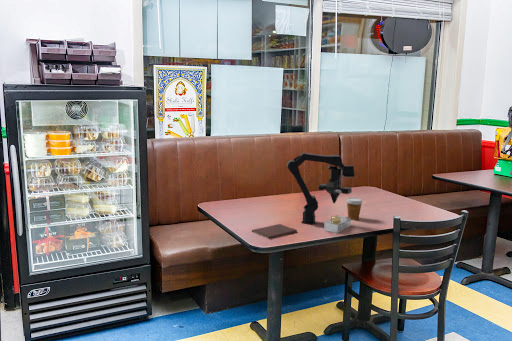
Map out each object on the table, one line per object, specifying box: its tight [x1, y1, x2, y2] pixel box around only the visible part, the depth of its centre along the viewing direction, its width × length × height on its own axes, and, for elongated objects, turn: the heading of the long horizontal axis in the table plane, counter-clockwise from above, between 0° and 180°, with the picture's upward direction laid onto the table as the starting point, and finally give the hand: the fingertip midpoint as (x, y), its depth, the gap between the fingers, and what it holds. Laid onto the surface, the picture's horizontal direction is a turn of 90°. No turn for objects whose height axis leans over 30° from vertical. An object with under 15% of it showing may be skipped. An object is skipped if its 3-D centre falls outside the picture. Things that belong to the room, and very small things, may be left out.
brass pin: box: [330, 215, 341, 223], centre depth 269 cm, size 5×5×6 cm
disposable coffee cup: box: [345, 197, 363, 221], centre depth 290 cm, size 10×10×12 cm
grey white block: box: [323, 215, 352, 234], centre depth 272 cm, size 8×18×4 cm, turn 146°
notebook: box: [251, 223, 298, 240], centre depth 262 cm, size 15×20×2 cm
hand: (334, 203), depth 279 cm, fingers closed
